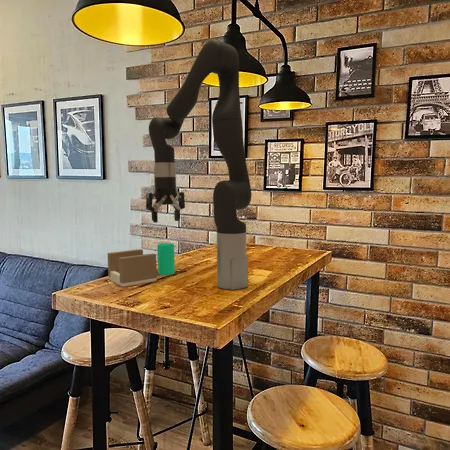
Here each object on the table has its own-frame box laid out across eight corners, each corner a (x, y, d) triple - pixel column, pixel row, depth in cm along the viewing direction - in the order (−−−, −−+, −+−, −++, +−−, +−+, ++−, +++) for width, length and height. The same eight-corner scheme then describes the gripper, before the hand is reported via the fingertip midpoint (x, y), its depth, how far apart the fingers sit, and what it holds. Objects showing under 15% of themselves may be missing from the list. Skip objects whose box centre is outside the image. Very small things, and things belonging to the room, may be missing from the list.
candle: (171, 275, 145) (171, 241, 143) (155, 274, 146) (154, 241, 145) (177, 271, 151) (176, 238, 149) (161, 270, 152) (160, 238, 151)
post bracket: (156, 280, 137) (156, 254, 136) (122, 286, 130) (121, 258, 129) (141, 274, 147) (140, 249, 146) (108, 279, 140) (107, 252, 139)
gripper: (151, 175, 138) (152, 224, 140) (187, 175, 147) (188, 221, 148) (141, 176, 144) (143, 222, 146) (177, 175, 153) (178, 219, 154)
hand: (166, 221), depth 147 cm, fingers open, 8 cm apart
